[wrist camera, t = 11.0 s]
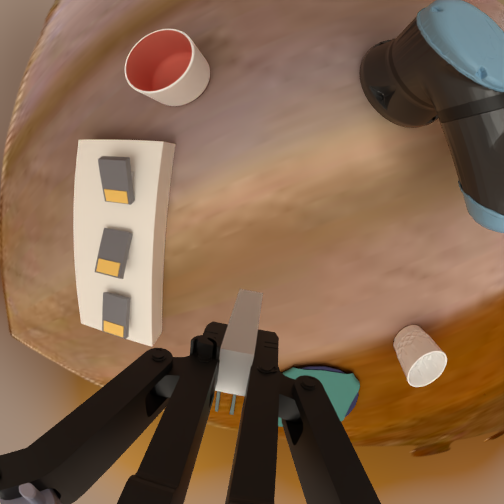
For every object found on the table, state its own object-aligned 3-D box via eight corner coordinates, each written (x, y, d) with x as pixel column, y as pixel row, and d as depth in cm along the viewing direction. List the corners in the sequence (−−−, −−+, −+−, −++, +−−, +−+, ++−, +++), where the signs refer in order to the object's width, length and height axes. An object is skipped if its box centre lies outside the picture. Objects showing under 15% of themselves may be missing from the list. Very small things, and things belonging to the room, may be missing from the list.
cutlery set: (339, 427, 55) (340, 434, 53) (212, 411, 57) (210, 417, 55) (370, 365, 50) (373, 372, 47) (220, 344, 51) (217, 351, 49)
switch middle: (107, 229, 41) (103, 227, 39) (132, 233, 41) (129, 231, 39) (98, 272, 40) (93, 271, 38) (123, 279, 40) (119, 278, 38)
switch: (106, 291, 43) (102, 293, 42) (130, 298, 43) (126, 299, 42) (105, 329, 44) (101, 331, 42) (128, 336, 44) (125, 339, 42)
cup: (142, 93, 39) (111, 78, 29) (175, 45, 36) (152, 20, 27) (188, 118, 40) (164, 105, 30) (224, 67, 37) (209, 42, 27)
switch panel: (94, 141, 42) (74, 139, 36) (175, 144, 41) (161, 141, 35) (93, 311, 52) (78, 324, 46) (162, 332, 51) (150, 349, 45)
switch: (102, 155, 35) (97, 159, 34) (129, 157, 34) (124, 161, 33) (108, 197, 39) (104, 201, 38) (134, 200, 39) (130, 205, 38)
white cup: (391, 360, 49) (406, 392, 39) (389, 329, 47) (407, 360, 37) (425, 347, 47) (444, 377, 38) (425, 316, 45) (448, 344, 36)
